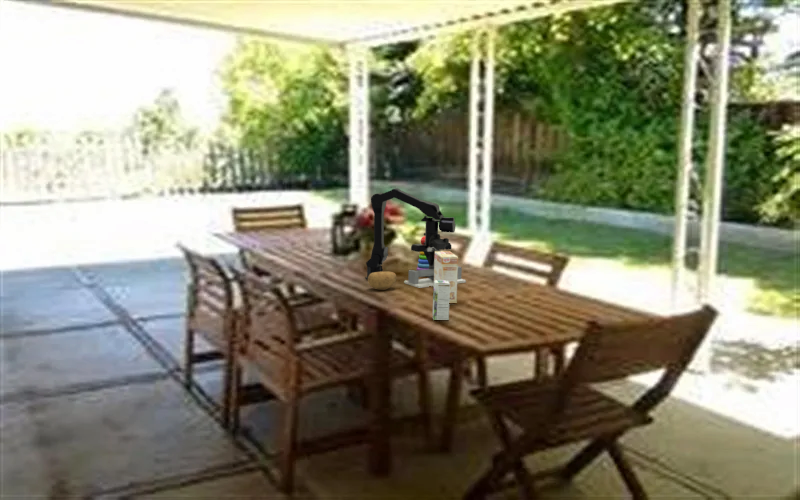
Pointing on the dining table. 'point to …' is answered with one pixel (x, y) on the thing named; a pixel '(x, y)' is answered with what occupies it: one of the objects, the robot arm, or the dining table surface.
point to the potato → (382, 280)
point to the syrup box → (441, 300)
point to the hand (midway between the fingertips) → (430, 265)
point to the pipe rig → (427, 282)
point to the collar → (431, 268)
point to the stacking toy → (422, 259)
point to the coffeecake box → (447, 271)
